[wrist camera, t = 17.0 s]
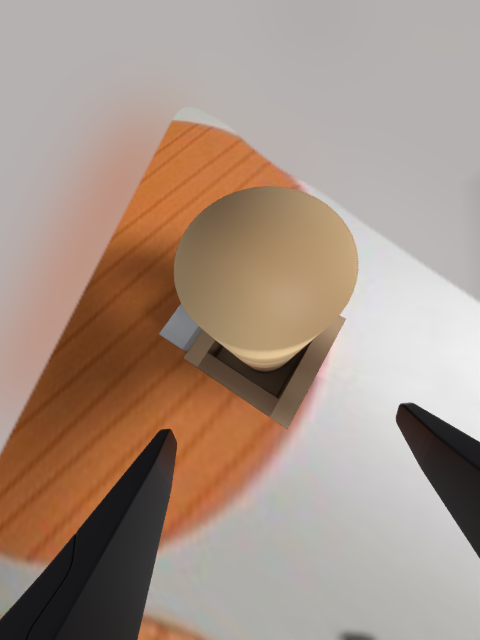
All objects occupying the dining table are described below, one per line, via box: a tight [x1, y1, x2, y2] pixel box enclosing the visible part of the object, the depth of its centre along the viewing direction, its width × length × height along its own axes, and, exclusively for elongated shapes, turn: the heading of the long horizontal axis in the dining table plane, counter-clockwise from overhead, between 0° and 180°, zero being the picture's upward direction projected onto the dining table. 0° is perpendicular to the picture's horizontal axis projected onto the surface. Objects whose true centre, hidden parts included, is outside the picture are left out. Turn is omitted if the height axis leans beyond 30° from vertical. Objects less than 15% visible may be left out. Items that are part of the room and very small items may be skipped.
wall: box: [159, 304, 203, 352], centre depth 17 cm, size 7×2×5 cm, turn 148°
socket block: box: [184, 316, 346, 429], centre depth 16 cm, size 8×8×4 cm
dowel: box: [174, 186, 358, 373], centre depth 11 cm, size 4×4×13 cm
